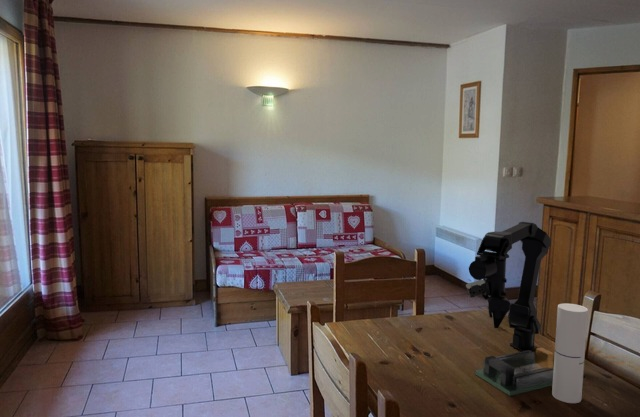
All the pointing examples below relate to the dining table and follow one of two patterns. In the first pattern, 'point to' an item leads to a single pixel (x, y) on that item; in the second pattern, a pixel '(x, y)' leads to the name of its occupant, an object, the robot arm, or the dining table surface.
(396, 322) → the dining table surface
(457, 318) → the dining table surface
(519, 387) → the green plate fixture
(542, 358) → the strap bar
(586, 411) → the dining table surface
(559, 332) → the cylindrical container
